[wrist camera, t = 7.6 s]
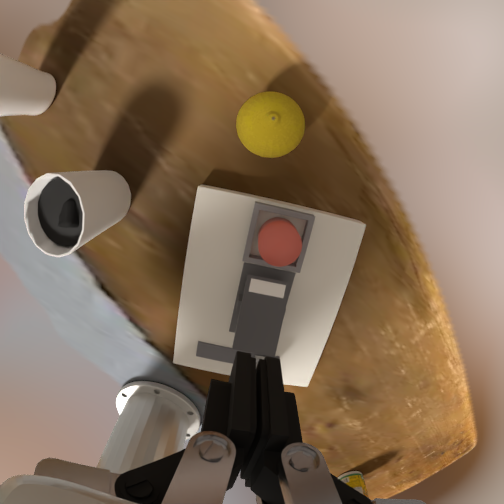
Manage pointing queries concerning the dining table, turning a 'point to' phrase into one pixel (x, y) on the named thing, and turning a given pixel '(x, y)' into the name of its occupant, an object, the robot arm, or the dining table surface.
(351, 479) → the supplement bottle
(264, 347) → the rocker switch
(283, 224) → the push button
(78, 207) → the white cup
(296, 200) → the dining table surface
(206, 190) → the switch panel
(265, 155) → the lemon
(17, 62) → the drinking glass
